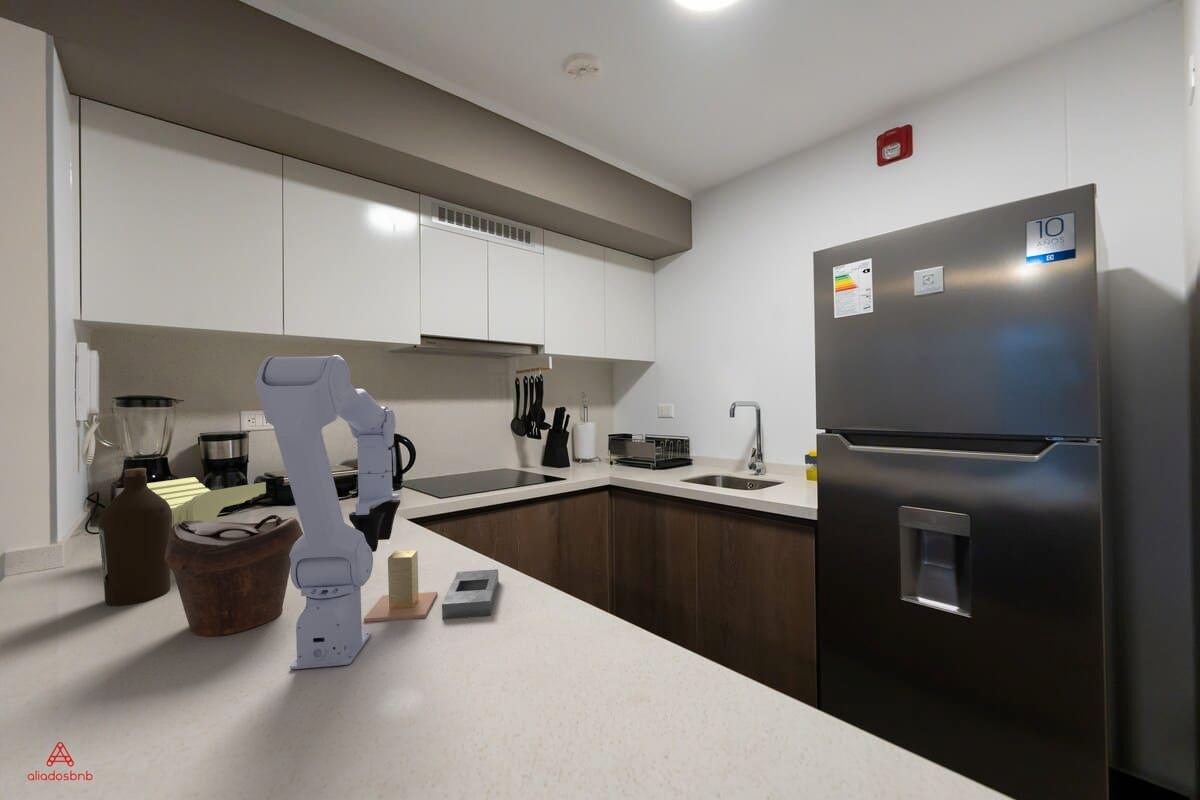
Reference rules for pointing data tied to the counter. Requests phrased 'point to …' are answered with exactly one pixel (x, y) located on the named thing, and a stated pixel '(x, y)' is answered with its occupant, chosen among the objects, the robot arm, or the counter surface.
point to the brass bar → (403, 579)
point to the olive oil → (135, 542)
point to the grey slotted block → (471, 594)
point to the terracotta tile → (418, 611)
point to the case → (231, 571)
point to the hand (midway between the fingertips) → (377, 545)
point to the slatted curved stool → (201, 498)
